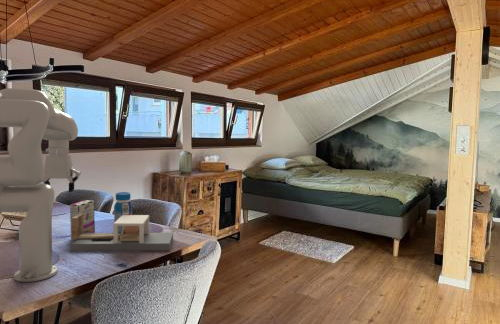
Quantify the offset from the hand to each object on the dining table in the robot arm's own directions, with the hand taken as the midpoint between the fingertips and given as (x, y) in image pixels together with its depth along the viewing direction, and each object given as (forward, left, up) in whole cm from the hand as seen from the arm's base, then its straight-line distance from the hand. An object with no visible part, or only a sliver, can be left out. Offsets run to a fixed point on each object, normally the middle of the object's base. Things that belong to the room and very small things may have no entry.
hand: (59, 191), depth 149 cm
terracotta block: (-1, -31, -19) cm, 36 cm away
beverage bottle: (+16, -23, -24) cm, 36 cm away
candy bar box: (+11, -6, -24) cm, 27 cm away
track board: (-1, -28, -23) cm, 36 cm away
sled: (-1, -21, -20) cm, 29 cm away
